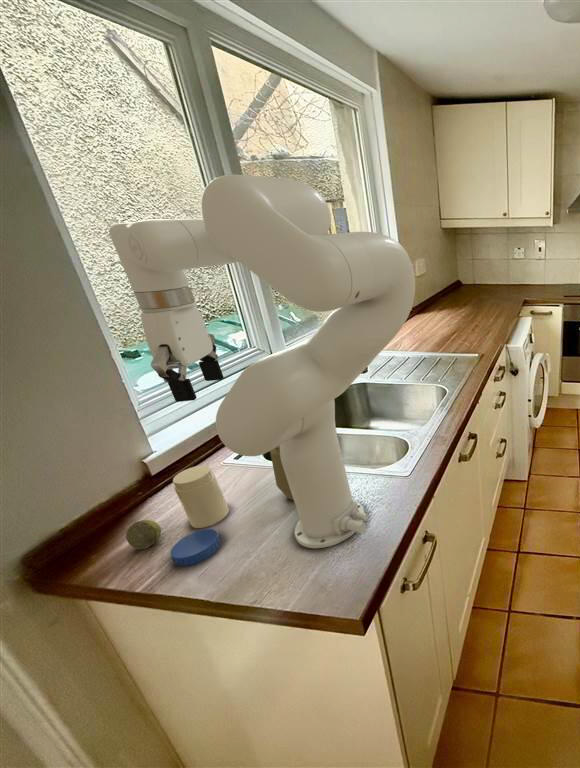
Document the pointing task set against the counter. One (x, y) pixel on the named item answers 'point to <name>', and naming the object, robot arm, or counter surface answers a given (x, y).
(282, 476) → the squeeze bottle
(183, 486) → the jar
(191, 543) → the lid
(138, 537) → the lime
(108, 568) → the counter surface
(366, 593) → the counter surface
